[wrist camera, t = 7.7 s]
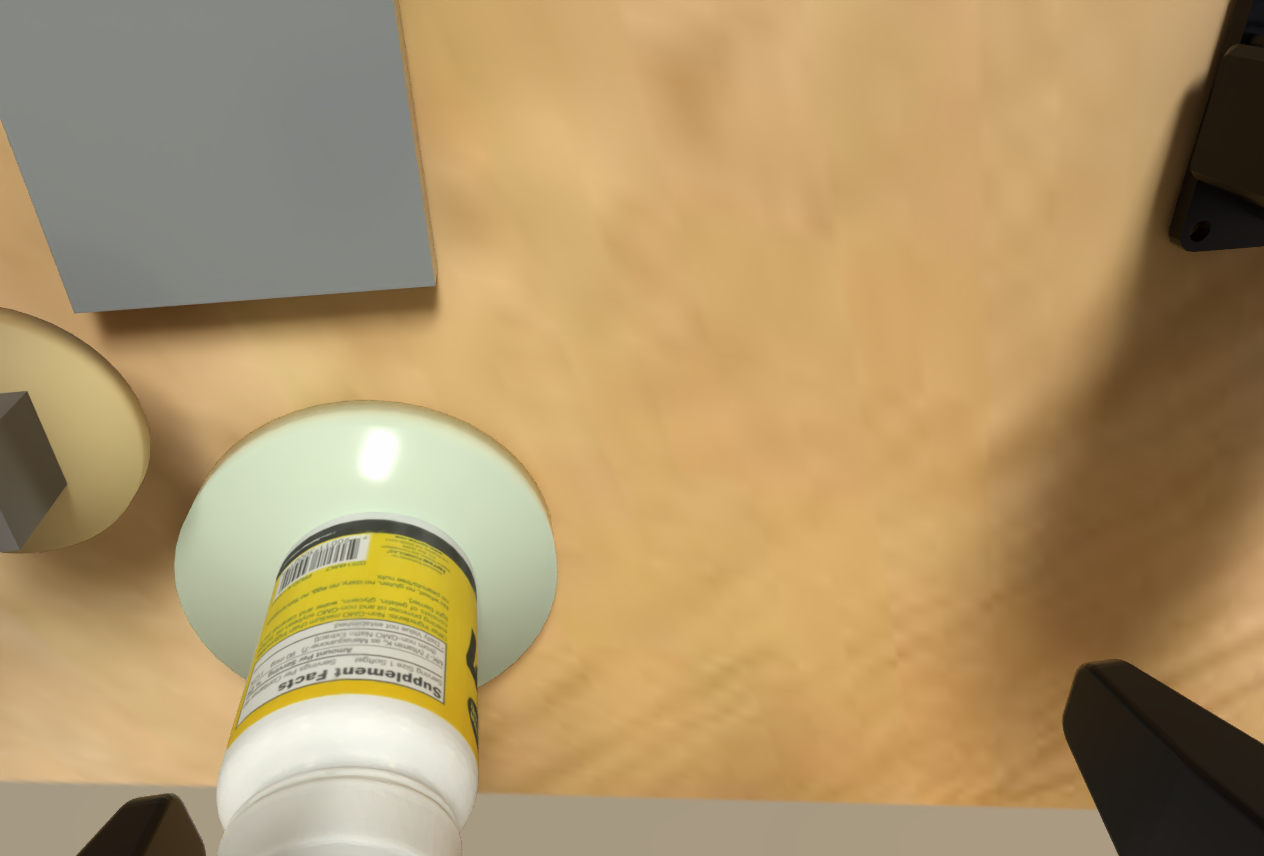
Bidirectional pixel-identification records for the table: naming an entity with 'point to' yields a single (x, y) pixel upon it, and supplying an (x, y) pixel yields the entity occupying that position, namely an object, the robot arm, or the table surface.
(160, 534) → the table surface
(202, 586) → the sage dish
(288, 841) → the supplement bottle
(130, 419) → the balance
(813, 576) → the table surface
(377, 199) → the slate coaster
